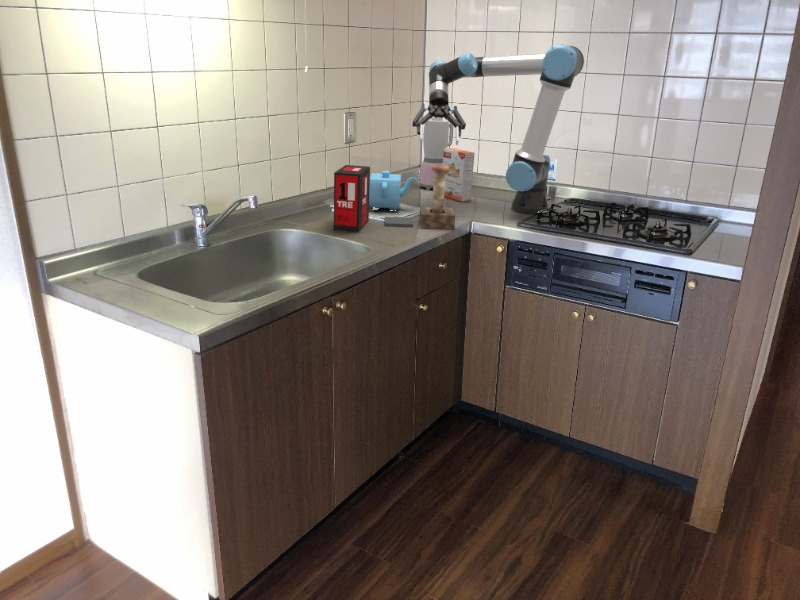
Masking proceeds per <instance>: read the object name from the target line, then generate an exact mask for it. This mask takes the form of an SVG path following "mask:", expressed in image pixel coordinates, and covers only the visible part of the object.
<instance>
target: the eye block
mask: <svg viewBox="0 0 800 600" xmlns="http://www.w3.org/2000/svg"><path fill="white" fill-rule="evenodd" d="M419 224H420V228H421V229H436V230H438V229H439V230H455V229H456V228H455V224H456V214H455V212H454V209H453V208H452V207H443V213H432V206H420V207H419Z"/></svg>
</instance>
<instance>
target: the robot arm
mask: <svg viewBox="0 0 800 600" xmlns="http://www.w3.org/2000/svg"><path fill="white" fill-rule="evenodd" d="M584 64H585V58H584V54H583V52H582V51H581V50H580V48H578V47H577V46H574V45H568V44H563V43H562V44H557V45H555V46H552V47H551V48H549V49H548V50H547V52H546V53H545V52H544V53H529V54H528V53H527V54H509V55H494V56H492V55H491V56H477V57H476V56H474V55H473V54H472V53H471V52H468V53H465V54H461V55H460V56H459V57H457V58H454V59H452V60H449V61H448V62H445V61H444V60H436V61H433V62H432V63H431V64H430V66H429V68H428V69H429V72H428V80H429V81H428V82H429V83H428V86H429V88H428V89H429V90H428V96H429V97H428V105H425V103H422V104H421V107H420V109H419V110H418V112H417V114H416V115H415V117H414V119H413V120H412V124H411V126H412V127H416V134H417V135H419V144H423V136H424V127H423V125H425V123H426V122H427V121H428V120H429V119H431V118H432V117H435V118H438V117H439V118H443V119H444V120H447V121H449V124H451V125H452V126H453V128H455V130H454V131H455V132H454V133H455V146H458V145H459V141H460V140H459V139H460V138H461V136H462V130H463V131H464V130H465V129H466V125H467V124H466V122H465V120H464V119H463V116H462V115H461V114H460V112H459V111H458V106H457V105H454V106H453V107H450V104H449V85H450V84H451V83H454V82H456V81H458V80H460V79H462V78H463V79H465V78H483V77H507V76H508V77H509V76H532V75H533V76H534V75H535V76H536V75H537V76H538V75H540V77H539V81H540V85H541V88H540V91H539V94H538V96H537V100H536V102H535V106H534V109H533V112H532V115H531V118H530V121H529V124H528V127H527V130H526V133H525V136H524V140H523V142H522V145H521V147H520V149H518V150H516V151H515V154H514V157H513V161H512V162H511V164H510V165H509V166H508V167H507V169H506V171H505V179H506V182H507V185H508V186H509V187H510V188H511V189H513V191H516V192H515V195H514V197H513V199H512V201H511V206H510V209H511V210H512V211H514V212H517V213H522V214H529V215H537V214H536V213H537V212H538V211H540V210H544V209H548V210H549V203H548V197H547V188H548V187H547V186H548V180H549V172H550V166H551V157H550V155H548V154H544V153H545V150H546V146H547V144H548V142H549V138H550V135H551V132H552V129H553V126H554V124H555V120H556V118H557V115H558V113H559V109H560V107H561V104H562V101H563V98H564V96H565V93H566V92H567V91H568V90H570V89H571V87H572V86H573V85H572V84H573V81H574V80H575V79H574V78H575V77H577V76H578V75H579V74H580V73H581V72H582V70H583V68H584ZM426 111H428V113H427V114H425V115H424V116H423V114H424V113H426ZM422 116H423V117H422ZM421 117H422V118H421Z"/></svg>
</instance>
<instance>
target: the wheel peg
mask: <svg viewBox="0 0 800 600" xmlns="http://www.w3.org/2000/svg"><path fill="white" fill-rule="evenodd" d="M431 170H433V171H435V172H434V187H433V188H432V191H433V192H432V206H431V207H432V213H443V208H444V200H445V197H444V189H445V174H446V172H447V171H449V167H448V166H443V165H433V166H431Z"/></svg>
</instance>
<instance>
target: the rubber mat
mask: <svg viewBox="0 0 800 600" xmlns="http://www.w3.org/2000/svg"><path fill="white" fill-rule="evenodd" d="M384 226H385V227H399V228H400V227H403V228H413V227H414V223H413V218H412V217H409V216H408V217H401V216H384Z"/></svg>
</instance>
